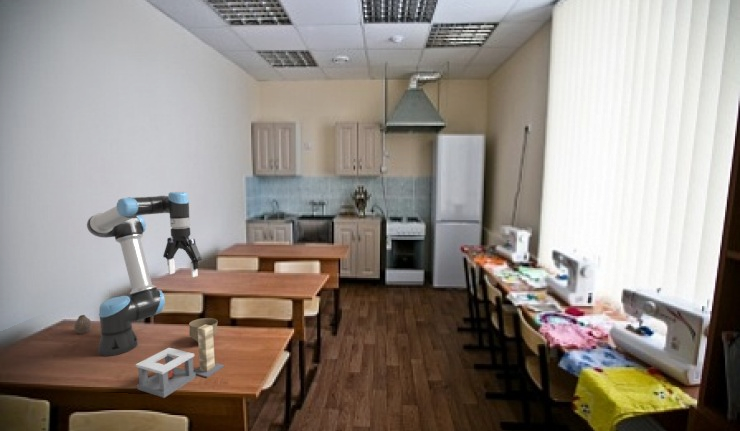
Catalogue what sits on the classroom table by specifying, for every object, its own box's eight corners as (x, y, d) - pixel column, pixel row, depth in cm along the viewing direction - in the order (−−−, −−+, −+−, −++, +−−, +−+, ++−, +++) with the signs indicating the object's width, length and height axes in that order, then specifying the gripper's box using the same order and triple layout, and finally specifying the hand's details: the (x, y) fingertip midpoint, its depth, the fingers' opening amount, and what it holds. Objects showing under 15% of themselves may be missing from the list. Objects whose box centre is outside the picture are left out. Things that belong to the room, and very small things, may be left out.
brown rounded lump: (71, 334, 180) (69, 318, 179) (84, 328, 186) (82, 312, 185) (82, 335, 178) (81, 318, 178) (95, 329, 185) (93, 313, 184)
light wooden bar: (199, 370, 145) (197, 328, 143) (207, 365, 149) (205, 324, 147) (207, 371, 144) (205, 329, 142) (214, 367, 148) (212, 325, 146)
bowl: (224, 339, 174) (223, 319, 173) (199, 349, 164) (198, 329, 162) (208, 333, 181) (207, 314, 180) (184, 343, 170) (183, 323, 169)
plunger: (158, 383, 136) (157, 370, 135) (168, 377, 140) (167, 365, 139) (166, 386, 134) (165, 373, 134) (176, 380, 138) (175, 367, 138)
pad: (190, 373, 144) (190, 371, 144) (208, 362, 152) (207, 361, 152) (207, 377, 141) (207, 376, 141) (224, 366, 149) (224, 365, 149)
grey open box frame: (137, 389, 133) (135, 364, 132) (170, 370, 146) (169, 347, 145) (164, 397, 128) (162, 371, 127) (195, 377, 141) (194, 353, 140)
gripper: (152, 227, 155) (155, 274, 157) (194, 230, 146) (197, 280, 148) (167, 224, 162) (170, 270, 164) (208, 227, 152) (211, 275, 155)
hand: (183, 275), depth 156 cm, fingers open, 13 cm apart
